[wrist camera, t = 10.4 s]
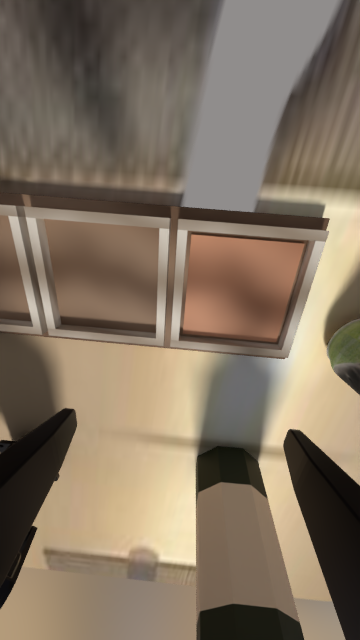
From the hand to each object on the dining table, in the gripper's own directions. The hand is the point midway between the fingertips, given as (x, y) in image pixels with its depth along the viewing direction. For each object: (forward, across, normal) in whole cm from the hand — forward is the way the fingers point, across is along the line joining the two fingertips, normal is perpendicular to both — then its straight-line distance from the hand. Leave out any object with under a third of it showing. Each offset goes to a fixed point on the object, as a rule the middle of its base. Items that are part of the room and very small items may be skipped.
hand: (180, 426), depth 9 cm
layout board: (+12, +7, -3) cm, 15 cm away
